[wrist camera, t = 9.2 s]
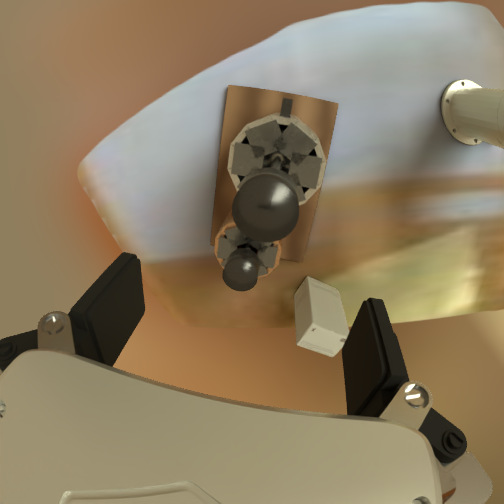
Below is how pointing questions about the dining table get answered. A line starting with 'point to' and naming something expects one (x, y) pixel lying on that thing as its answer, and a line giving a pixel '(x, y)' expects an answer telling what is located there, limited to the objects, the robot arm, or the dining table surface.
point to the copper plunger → (242, 269)
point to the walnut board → (248, 110)
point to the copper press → (235, 239)
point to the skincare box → (319, 317)
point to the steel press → (287, 142)
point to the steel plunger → (267, 201)
